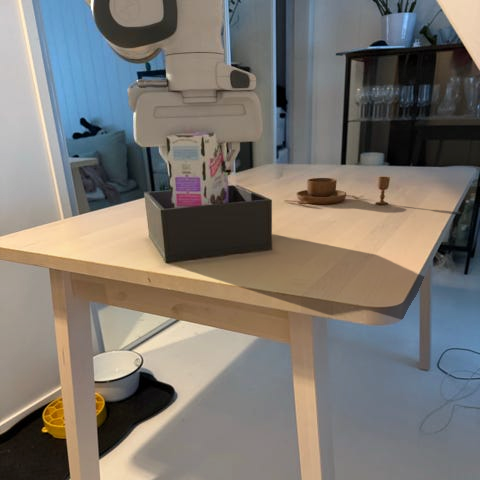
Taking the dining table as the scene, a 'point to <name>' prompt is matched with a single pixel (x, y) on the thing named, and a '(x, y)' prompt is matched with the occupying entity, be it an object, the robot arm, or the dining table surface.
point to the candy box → (197, 169)
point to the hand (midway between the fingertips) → (201, 174)
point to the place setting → (332, 191)
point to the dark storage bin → (209, 225)
